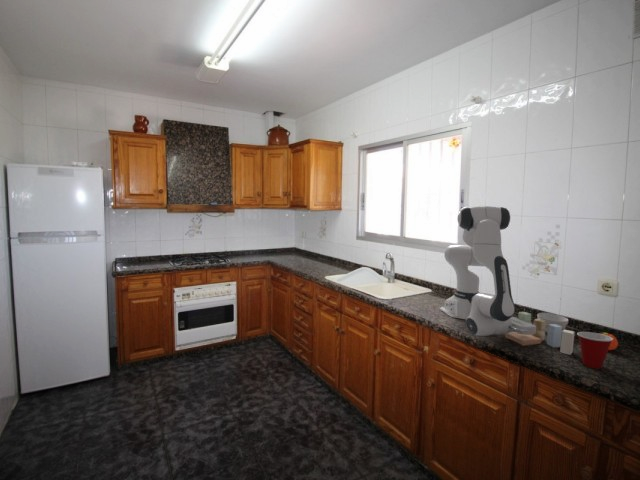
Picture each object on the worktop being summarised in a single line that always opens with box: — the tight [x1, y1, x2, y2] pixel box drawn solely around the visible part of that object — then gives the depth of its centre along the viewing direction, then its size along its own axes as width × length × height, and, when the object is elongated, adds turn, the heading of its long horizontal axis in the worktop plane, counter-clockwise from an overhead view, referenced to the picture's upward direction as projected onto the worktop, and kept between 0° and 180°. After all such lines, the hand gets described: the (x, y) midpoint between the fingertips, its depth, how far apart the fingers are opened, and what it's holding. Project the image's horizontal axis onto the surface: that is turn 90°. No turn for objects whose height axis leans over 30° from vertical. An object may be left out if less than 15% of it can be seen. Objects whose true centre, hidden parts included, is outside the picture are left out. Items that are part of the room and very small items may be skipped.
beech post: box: [532, 318, 546, 342], centre depth 156 cm, size 4×4×9 cm
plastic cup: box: [576, 331, 613, 370], centre depth 131 cm, size 11×11×12 cm
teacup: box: [537, 312, 569, 334], centre depth 166 cm, size 15×12×8 cm
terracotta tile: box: [504, 331, 542, 346], centre depth 155 cm, size 10×10×2 cm
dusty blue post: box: [546, 324, 562, 348], centre depth 149 cm, size 4×4×9 cm
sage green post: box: [517, 311, 532, 322], centre depth 154 cm, size 4×4×9 cm
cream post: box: [559, 328, 575, 356], centre depth 142 cm, size 4×4×9 cm
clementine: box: [598, 332, 619, 351], centre depth 147 cm, size 8×7×7 cm
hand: (525, 321), depth 154 cm, fingers closed on sage green post, 3 cm apart
